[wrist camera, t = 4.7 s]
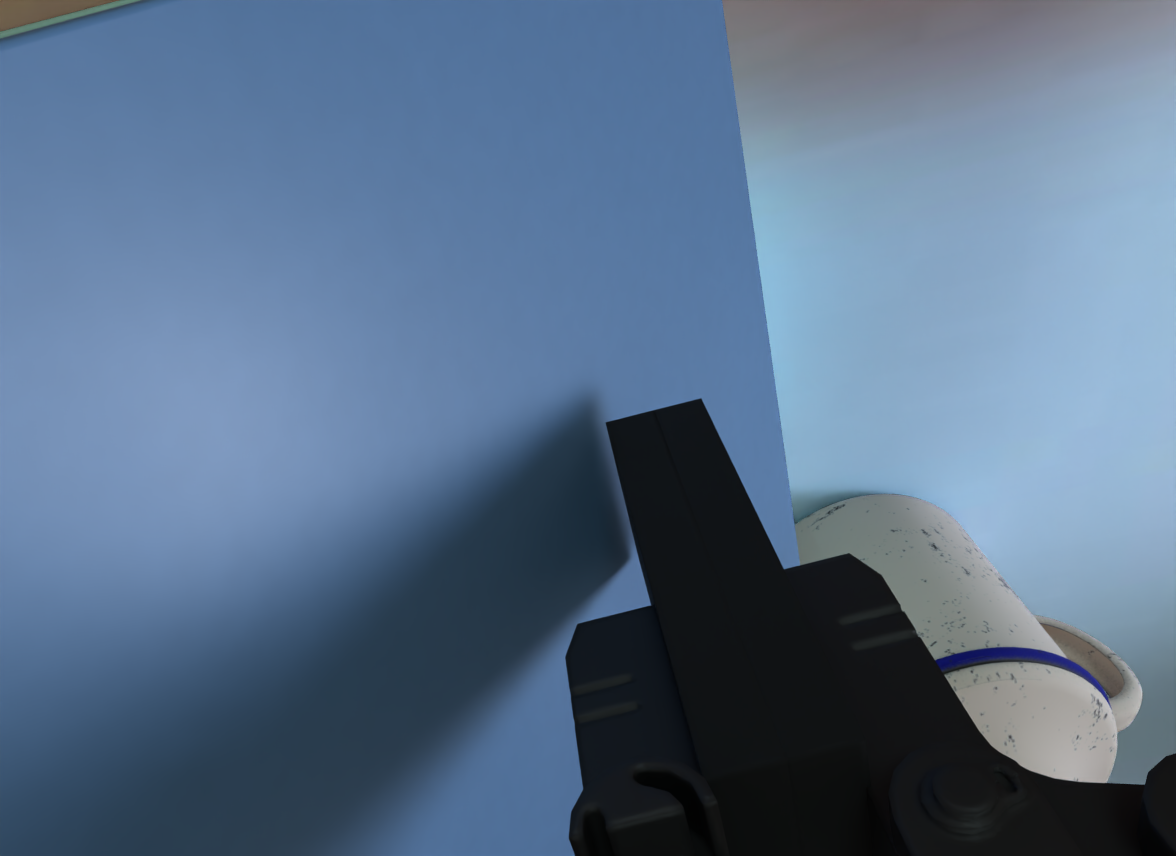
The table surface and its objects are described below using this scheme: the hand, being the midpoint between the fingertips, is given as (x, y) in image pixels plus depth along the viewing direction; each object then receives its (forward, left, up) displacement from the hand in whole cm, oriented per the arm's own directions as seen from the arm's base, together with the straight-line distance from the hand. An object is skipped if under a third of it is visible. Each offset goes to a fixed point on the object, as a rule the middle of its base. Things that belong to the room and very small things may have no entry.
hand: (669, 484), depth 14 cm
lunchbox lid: (0, +2, +1) cm, 2 cm away
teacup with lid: (-17, -8, -14) cm, 23 cm away
